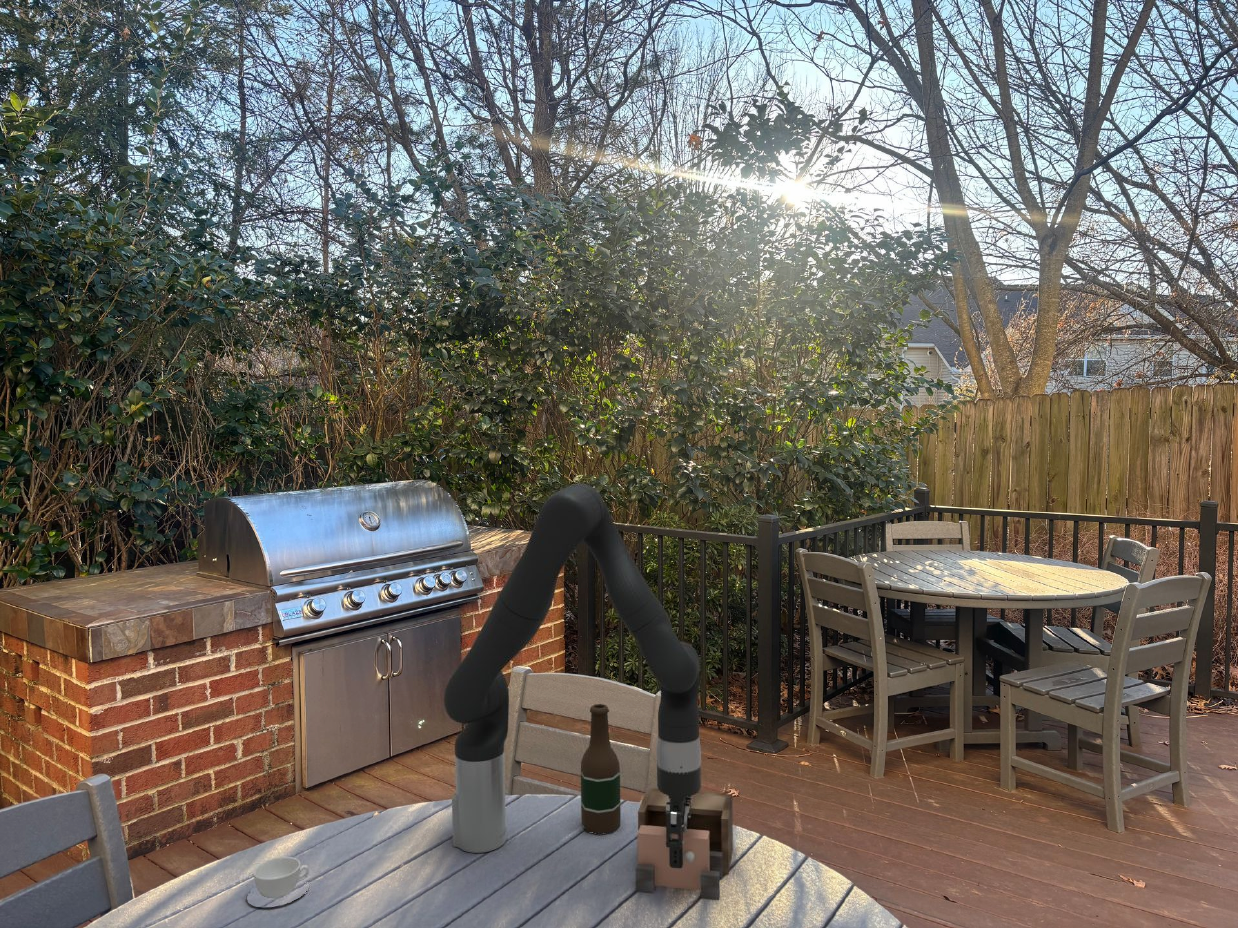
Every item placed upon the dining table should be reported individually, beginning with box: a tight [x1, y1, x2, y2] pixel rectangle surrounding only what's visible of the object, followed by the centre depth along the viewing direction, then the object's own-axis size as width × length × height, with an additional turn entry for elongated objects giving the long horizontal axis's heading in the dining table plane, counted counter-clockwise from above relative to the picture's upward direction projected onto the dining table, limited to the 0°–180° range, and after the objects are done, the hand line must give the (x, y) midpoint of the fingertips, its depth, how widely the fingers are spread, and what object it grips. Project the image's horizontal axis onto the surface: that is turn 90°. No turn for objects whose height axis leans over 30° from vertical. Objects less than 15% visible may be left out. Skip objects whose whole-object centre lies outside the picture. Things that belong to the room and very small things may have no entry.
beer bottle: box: [580, 703, 622, 835], centre depth 166 cm, size 8×8×24 cm
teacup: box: [253, 856, 310, 898], centre depth 144 cm, size 10×10×5 cm
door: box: [637, 825, 710, 891], centre depth 145 cm, size 12×4×9 cm, turn 78°
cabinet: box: [635, 787, 734, 901], centre depth 151 cm, size 16×18×10 cm
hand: (679, 854), depth 146 cm, fingers open, 8 cm apart
